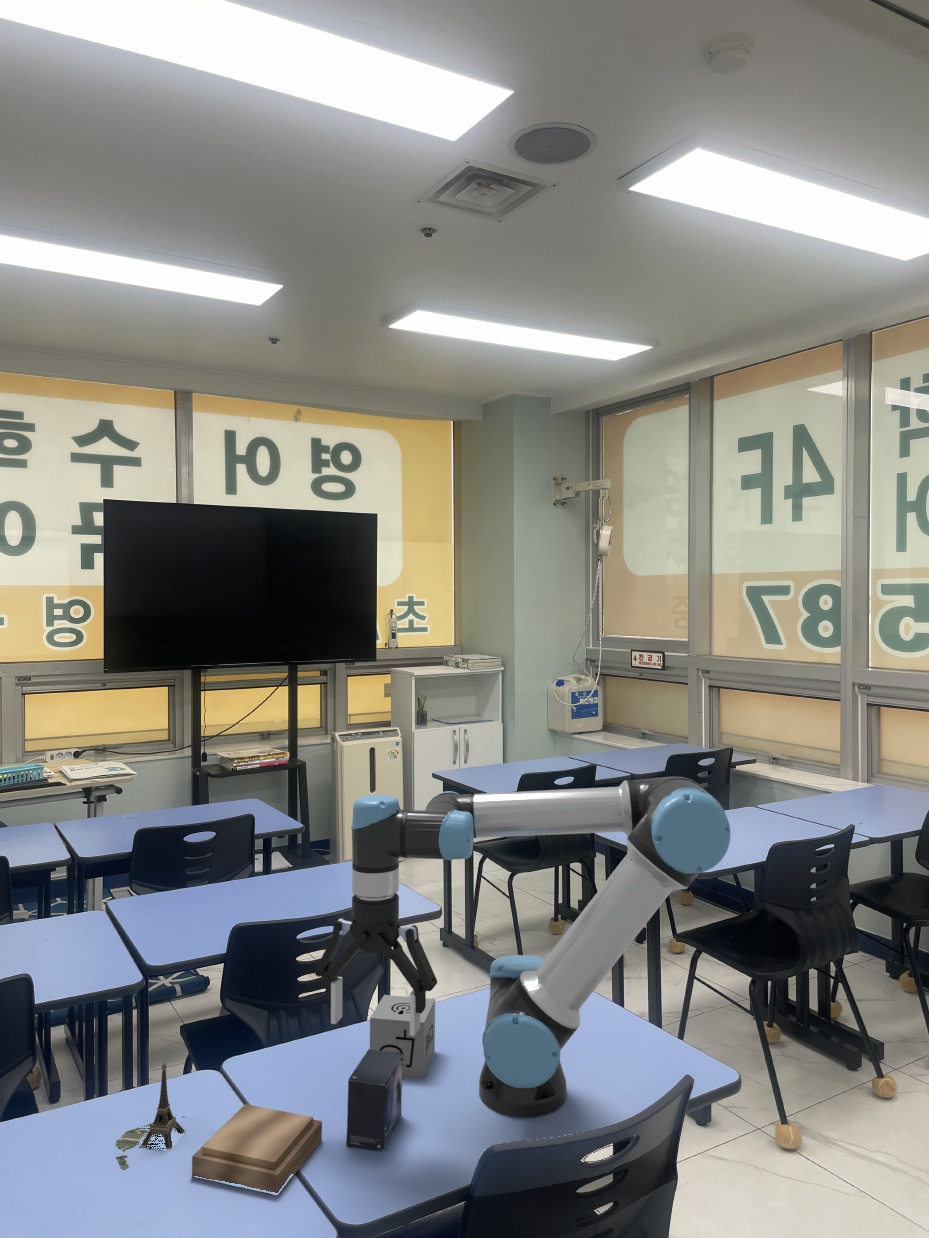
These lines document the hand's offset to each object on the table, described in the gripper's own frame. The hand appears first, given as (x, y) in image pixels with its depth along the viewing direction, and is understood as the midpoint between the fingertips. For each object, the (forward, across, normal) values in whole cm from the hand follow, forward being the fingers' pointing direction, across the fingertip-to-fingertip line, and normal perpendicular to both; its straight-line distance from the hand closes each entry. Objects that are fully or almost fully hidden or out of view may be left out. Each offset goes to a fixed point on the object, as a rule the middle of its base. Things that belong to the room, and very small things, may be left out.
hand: (375, 1026), depth 140 cm
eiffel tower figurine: (+17, +31, +12) cm, 37 cm away
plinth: (+16, +14, +12) cm, 25 cm away
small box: (+17, 0, 0) cm, 17 cm away
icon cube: (+17, +4, -22) cm, 28 cm away
